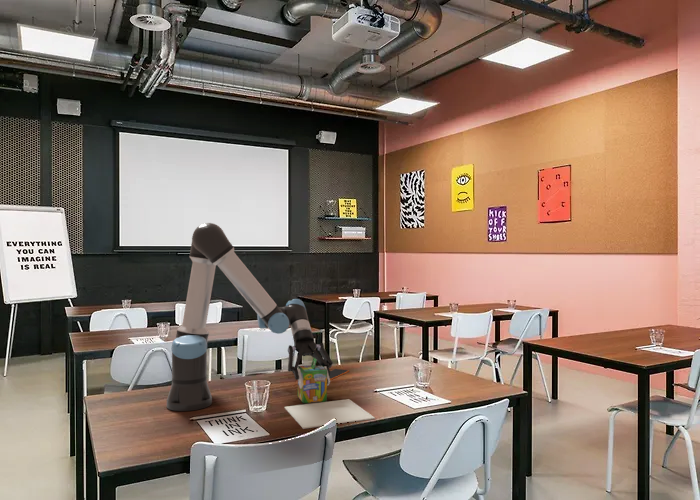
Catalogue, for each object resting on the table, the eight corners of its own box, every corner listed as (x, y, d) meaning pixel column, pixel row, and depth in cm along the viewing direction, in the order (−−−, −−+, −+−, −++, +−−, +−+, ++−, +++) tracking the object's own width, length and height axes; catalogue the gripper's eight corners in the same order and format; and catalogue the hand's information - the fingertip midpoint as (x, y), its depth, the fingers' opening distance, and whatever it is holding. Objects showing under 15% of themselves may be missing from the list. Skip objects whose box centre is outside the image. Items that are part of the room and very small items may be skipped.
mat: (303, 428, 154) (303, 427, 154) (284, 407, 174) (284, 406, 174) (374, 418, 163) (374, 417, 163) (349, 400, 183) (349, 399, 183)
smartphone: (316, 378, 215) (316, 376, 215) (335, 370, 230) (335, 368, 230) (331, 380, 212) (331, 378, 212) (349, 372, 227) (349, 370, 227)
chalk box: (297, 397, 187) (297, 357, 187) (321, 394, 190) (321, 355, 190) (302, 404, 178) (302, 362, 178) (327, 401, 181) (327, 360, 181)
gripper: (326, 338, 202) (341, 387, 188) (272, 341, 194) (283, 394, 179) (331, 326, 198) (346, 376, 183) (276, 330, 189) (287, 382, 174)
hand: (315, 385), depth 181 cm, fingers closed on chalk box, 9 cm apart
